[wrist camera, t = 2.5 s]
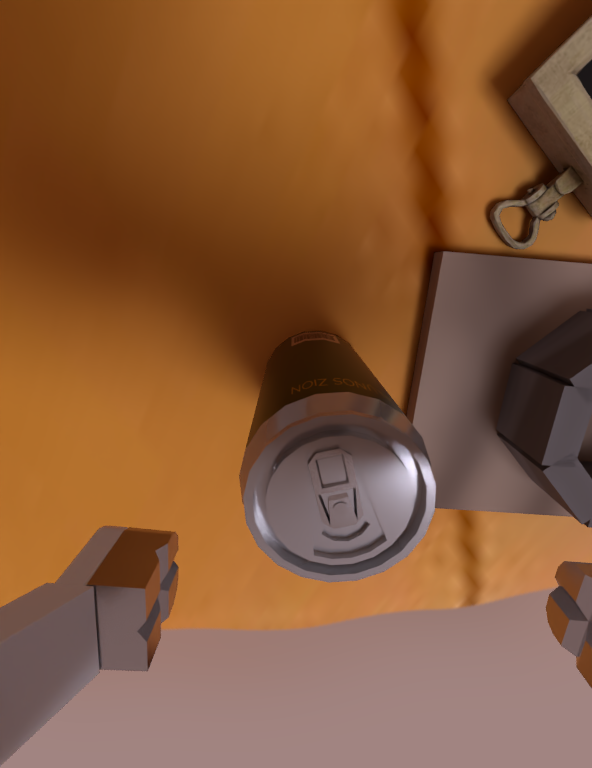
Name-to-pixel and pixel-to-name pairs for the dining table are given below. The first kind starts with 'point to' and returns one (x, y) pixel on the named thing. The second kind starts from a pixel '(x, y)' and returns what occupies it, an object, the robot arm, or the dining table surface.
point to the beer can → (333, 465)
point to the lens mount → (507, 384)
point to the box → (557, 130)
